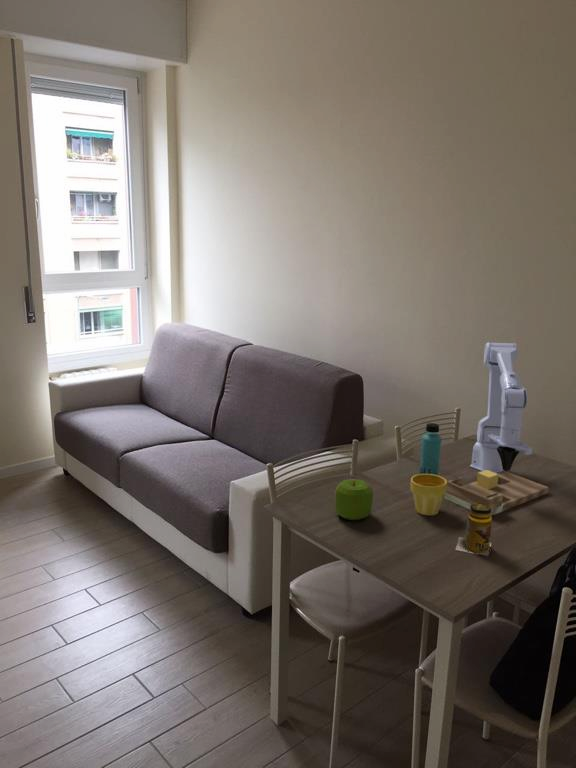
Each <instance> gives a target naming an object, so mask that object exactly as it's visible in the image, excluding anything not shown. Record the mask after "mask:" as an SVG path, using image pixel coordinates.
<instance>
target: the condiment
mask: <svg viewBox="0 0 576 768" xmlns="http://www.w3.org/2000/svg"><path fill="white" fill-rule="evenodd" d="M466 521H467V524H466V532H465V537H461V536H458V540H457V544H456V546H455V551H459V552H464V553H467V554H468V553H469V554H472V555H475V554H474V553H486V552H487V551H488V550H489V546H490V547H491V548H492V542H491V533H492V531H491V530H492V523H493V516H491V507H490V506H489V505H487V504H484V503H473V504H471V506H470V510H469V513H468V514H467V520H466ZM463 547H465V548H466V549H467V550H468V551H469V552H468V551H467V550H465V548H463Z"/></svg>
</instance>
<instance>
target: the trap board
mask: <svg viewBox="0 0 576 768" xmlns="http://www.w3.org/2000/svg"><path fill="white" fill-rule="evenodd" d="M497 474H499V475H498V485H497V486H496V487H494V488H491V489H486V488H483V487H481V486H479V485H477V480H476V481H472V482H469V483H468V484H464V485H463V477H462V476H458V477H455V478H451V479H449V480H446V481H447V490H446V494H445V495H443V499H445V500H448V501H450V502H452V503H454V504H457V505H458V506H461V507H463V508H465V509H467V510H469V511H470V506H471V504H473V503H484V504H487V505H489V506H490V507H491V517H493V516H494V515H497V514H499V513H503V512H505V511H507V510H509V509H512V508H514V507H516V506H519V505H522V504H524V503H527V502H529V501H532V500H535V499H537V498H539V497H542V496H545V495H547V494H549V486H547V485H544V484H542V483H538V482H536V481H533V480H531V479H529V478H525V477H522V476H520V475H518V474H514V473H512V472H509V471H502V472H499V473H497Z"/></svg>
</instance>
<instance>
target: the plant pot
mask: <svg viewBox="0 0 576 768" xmlns="http://www.w3.org/2000/svg"><path fill="white" fill-rule="evenodd" d="M447 481H448V480H447V479H446V478H444V477H443V476H440V475H439V476H438V475H433V474H420V473H418V474H414V475H413V476H412V477H411V478H410V491H411V492H412V495H413V501H414V507H415V508H414V509H415V511H416V512H417V513H418V514H420V515H423V516H436V515H437V514H439V512H440V509H441V505H442V502H443V499H444V495H445V494H446V490H447Z"/></svg>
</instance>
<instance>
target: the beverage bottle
mask: <svg viewBox="0 0 576 768" xmlns="http://www.w3.org/2000/svg"><path fill="white" fill-rule="evenodd" d="M425 431H426V433H424V434H423V435H422V436H421V446H420V461H419V463H420V464H419V474H433V475H438V476H440V469H441V466H440V465H441V450H442V439H443V438H442V437H441V436H440V435H439V432H440V425H439V424H438V423H434V422H433V423H432V422H430V423H427V424H426V426H425Z"/></svg>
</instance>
